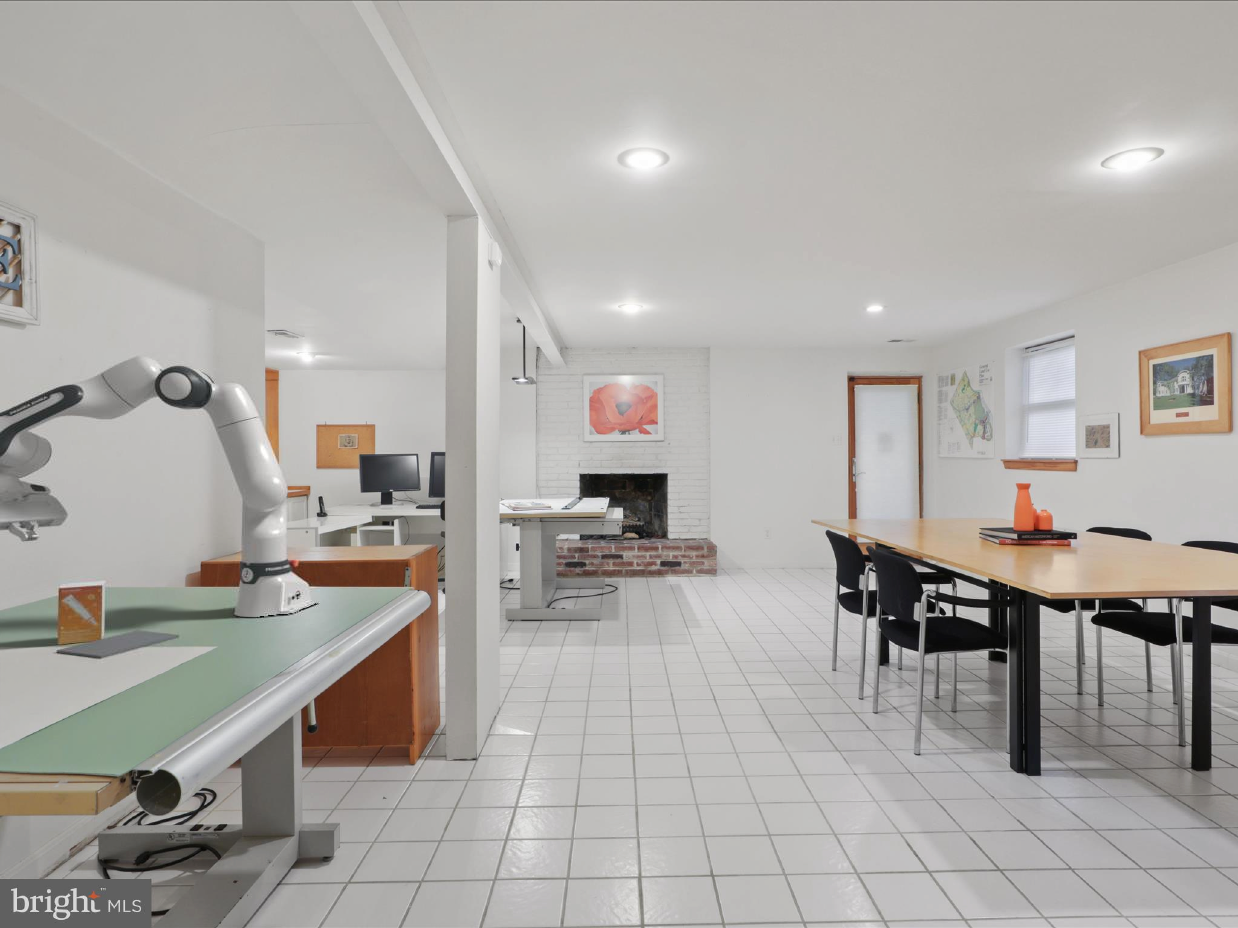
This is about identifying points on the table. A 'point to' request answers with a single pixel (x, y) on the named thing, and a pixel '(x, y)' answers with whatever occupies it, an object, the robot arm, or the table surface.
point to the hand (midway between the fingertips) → (31, 539)
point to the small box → (81, 612)
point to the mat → (117, 644)
